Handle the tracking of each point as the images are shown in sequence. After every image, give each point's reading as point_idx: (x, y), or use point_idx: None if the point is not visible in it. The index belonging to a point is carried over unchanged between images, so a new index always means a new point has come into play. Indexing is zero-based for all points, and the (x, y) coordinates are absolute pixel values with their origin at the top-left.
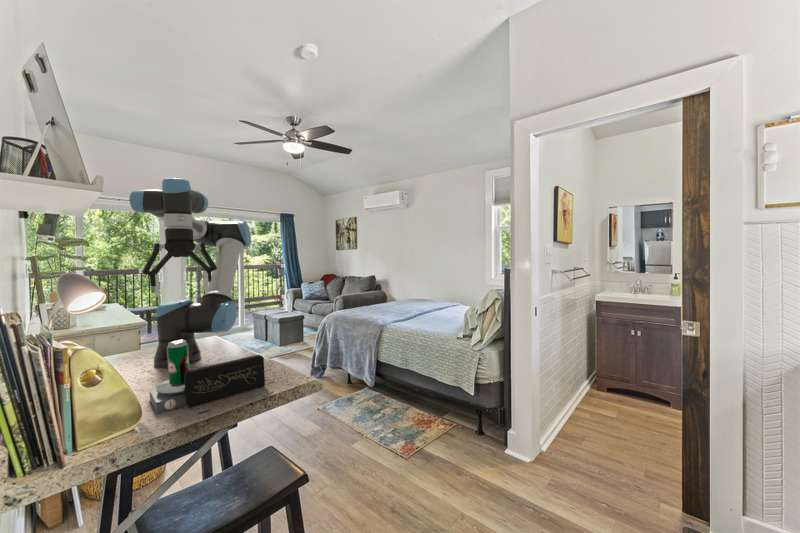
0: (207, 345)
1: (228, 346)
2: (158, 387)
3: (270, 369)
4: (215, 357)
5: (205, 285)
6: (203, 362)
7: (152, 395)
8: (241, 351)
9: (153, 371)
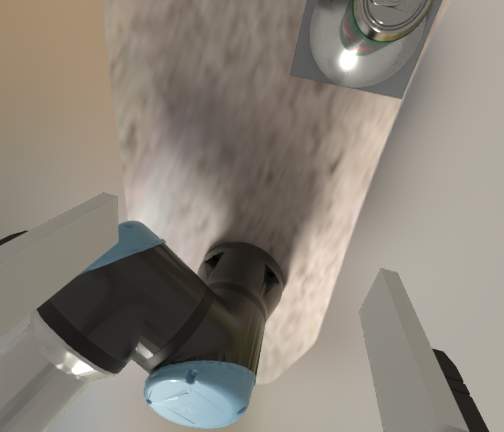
0: None
1: None
2: (412, 44)
3: (134, 23)
4: (185, 231)
5: (86, 226)
6: (215, 224)
7: (421, 49)
8: (132, 217)
9: (298, 262)
